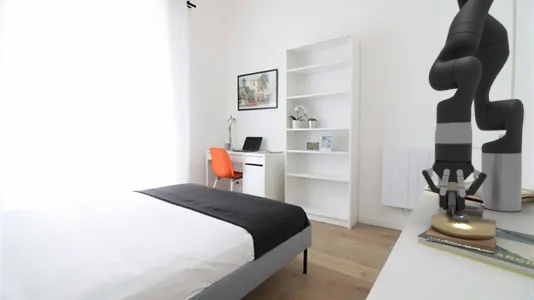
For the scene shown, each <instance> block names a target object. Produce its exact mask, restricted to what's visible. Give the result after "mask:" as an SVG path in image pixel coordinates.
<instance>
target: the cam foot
mask: <svg viewBox="0 0 534 300" xmlns="http://www.w3.org/2000/svg"><path fill="white" fill-rule="evenodd" d="M484 218H485V217H483V218H481V217H477V216H472V215H467V214H459V213H458V191H457V190H446V213H440V212H438V213H434V214H432V215H431V216H430V226H431V227H432V228H433V229H435V230H437V231H439V232H441V233H444V234H447V235H451V236H455V237H461V238H468V239H489V238H492V237H494V236H495V224H494V223H493V222H491V221H489V220H487V219H488V218H485V219H484Z"/></svg>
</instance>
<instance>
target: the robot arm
mask: <svg viewBox="0 0 534 300" xmlns="http://www.w3.org/2000/svg"><path fill="white" fill-rule="evenodd" d="M456 2H457V6H458V9H459V10H458V12H457V13H456V14H455V16H454V17H453V19H452V21H451V23H450V26H449V29H448V32H447V36H446V38H445V39H446V40H445V43H444V46H443V47H442V49H441V50H440V52H439V53H438V55H437V57H436V59H435V60H434V62H433V64H432V65H431V67H430V70H429V73H428V83H429V86H430V87H431V88H432V90H434V91H437V92H443V91H444V92H445V91H451V90H456V91H455V93H454V94H453V96H450V97H448V98H446V99H443V100H440V101H438V103H437V104H436V113H435V114H436V116H435V117H436V121H435V122H436V125H435V131H434V162H433V164H432V166H431V167H430V168H427V169H422V171H421V174H422V176H423V178H424V179H425V181H426V184H427V185H428V187H429V189H430V190H431V192H432V193H436V194H439V197H438V207H439V206H440V208H442V209H443V210H446V188H447V184H448V182H455V183H457V186H458V212H461V211H462V210H464V209H465V205H466V198H467V197H469V196H474V195H476V193H477V192H478V190H479V189H480V187H481V192H480V193H481V194H480V195H481V199H482V201H483V203H484V207H483V208H485V209H490V210H494V211H499V212H520V211H522V181H523V180H522V179H523V176H522V175H523V174H522V173H523V172H522V171H523V169H522V166H523V164H522V162H523V160H522V159H523V128H524V119H525V109H524V107H525V106H524V103H523V102H522V100H521V99H520V98H519V99H518V98H511V99H510V98H509V99H501V100H500V99H498V100H492V101H491V100H490V92H491V88H492V86H493V84H494V82H495V80H496V78H497V77H498V75H499V74H500V73H501V71H502V69H503V68H504V66H505V65H506V64H507V61H508V59H509V56H510V45H509V44H510V42H509V36H508V35H509V34H508V31H507V28H506V27H505V25H503V24H502V23H501V21H499V20H498V19H497V18H496V17H494V16H492V15H491V14H490V13H489V12H490V10H491V7H492V5H493V4H494V2H495V1H494V0H456ZM472 108H473V109H474V120H475V124H476V128H478V130H479V131H481V132H484V131H485V132H492V131H493V132H495V131H496V132H497V131H498V132H499V131H500V132H501V131H505V134H504V135H502V136H500V138H497V139H495V140H492V141H487V142H484V143H482V144H481V171H479V170H477V169H476V168H475V166H474V165H473V129H472ZM433 173H435V174H436V176H437V178H438V177H439V178H440V179H441V183H440V188H438V187H437V186H436V185H435V183H434V181H433V179H432V177H433ZM472 174H473V175H472ZM471 175H472V178H473V179H474V180H473V181H472V183H471V184H470V186H469V187H468V189H466V187H465V185H466V184H465V181H466V180H467V179H468V178H469V177H470V176H471ZM481 199H480V200H481Z"/></svg>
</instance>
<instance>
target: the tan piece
mask: <svg viewBox="0 0 534 300" xmlns="http://www.w3.org/2000/svg"><path fill="white" fill-rule="evenodd" d="M439 213H442V212H440V211H439ZM458 213H459V214H467V215H472V216H477V217H481V218H484V219H487V220H489V221H491V222H493V223H494V224H495V236H494V237H492V238H489V239H468V238H461V237H455V236H451V235H447V234H444V233H441V232H439V231H437V230H435V229H433V228H432V227H431V225H430V226H429V227H428V229H427V231H426V232H425V238H426V237H432V238H436V239H440V240H447V241H450V242H454V243H457V244H461V245H467V246H471V247H476V248H480V249H484V250H489V251H493V252H495V253H496V239H495V237H496V236H497V235H496V234H497V233H496V232H497V231H496V229H497V225H496V224H497V223H496V222H497V220H496V219H491V218H485V217H484V207H483V206H476V205H475V206H474V205H468V204H467V205H466V204H465V209H464V210H462V211H461V212H458ZM496 238H497V237H496Z"/></svg>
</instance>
